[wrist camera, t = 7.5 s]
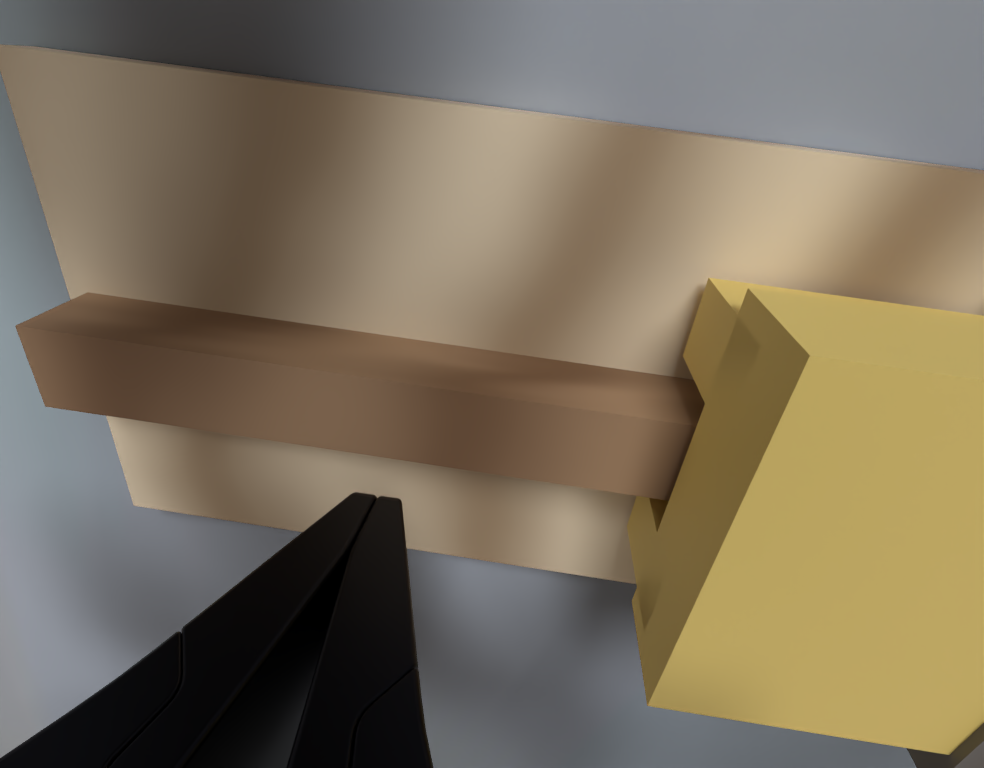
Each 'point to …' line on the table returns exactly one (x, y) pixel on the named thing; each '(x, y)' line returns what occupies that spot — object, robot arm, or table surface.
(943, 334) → the block
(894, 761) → the table surface
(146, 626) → the table surface
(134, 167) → the track
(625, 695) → the table surface
